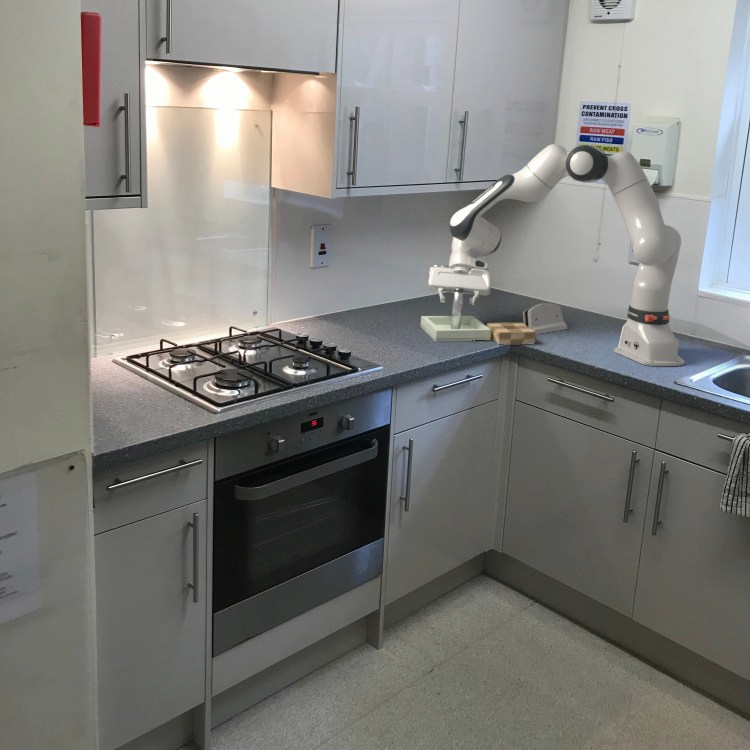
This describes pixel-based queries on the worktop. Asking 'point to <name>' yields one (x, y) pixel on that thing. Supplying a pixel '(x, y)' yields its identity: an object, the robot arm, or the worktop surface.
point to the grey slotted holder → (544, 318)
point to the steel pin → (457, 307)
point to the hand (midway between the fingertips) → (456, 302)
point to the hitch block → (511, 333)
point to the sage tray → (442, 329)
